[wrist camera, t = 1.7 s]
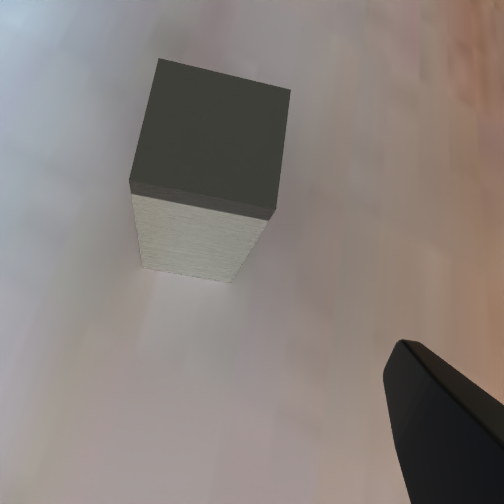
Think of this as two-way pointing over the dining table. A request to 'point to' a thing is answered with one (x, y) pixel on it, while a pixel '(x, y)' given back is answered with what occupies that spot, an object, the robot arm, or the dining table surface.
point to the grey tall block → (206, 169)
